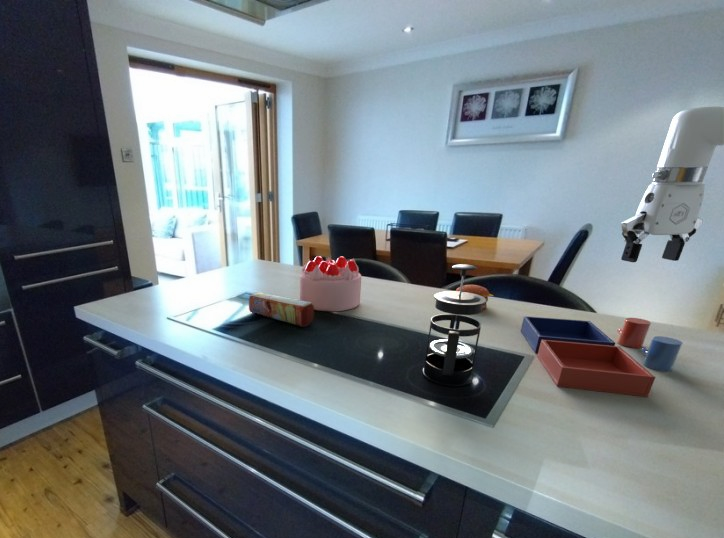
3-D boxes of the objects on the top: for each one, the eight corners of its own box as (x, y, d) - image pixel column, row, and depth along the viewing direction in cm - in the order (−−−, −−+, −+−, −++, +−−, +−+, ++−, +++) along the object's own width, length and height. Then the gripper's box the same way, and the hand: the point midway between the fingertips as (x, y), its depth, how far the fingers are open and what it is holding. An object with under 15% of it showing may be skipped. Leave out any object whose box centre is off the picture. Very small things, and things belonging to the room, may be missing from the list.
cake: (370, 300, 129) (374, 257, 123) (337, 316, 115) (339, 269, 110) (322, 291, 141) (322, 251, 135) (287, 304, 127) (286, 261, 122)
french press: (425, 361, 86) (439, 258, 77) (471, 369, 83) (492, 261, 74) (419, 386, 77) (434, 270, 68) (471, 395, 73) (495, 274, 64)
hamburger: (492, 306, 120) (497, 286, 117) (475, 313, 115) (479, 291, 113) (464, 299, 127) (467, 280, 125) (446, 305, 122) (449, 285, 120)
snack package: (247, 314, 119) (245, 293, 117) (261, 308, 124) (261, 288, 121) (301, 330, 106) (301, 306, 103) (315, 323, 110) (316, 300, 108)
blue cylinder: (676, 372, 79) (687, 345, 77) (649, 369, 80) (659, 343, 78) (653, 355, 86) (663, 330, 84) (629, 353, 88) (638, 328, 86)
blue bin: (585, 336, 97) (589, 320, 96) (609, 360, 85) (615, 343, 83) (520, 330, 101) (523, 316, 100) (534, 352, 89) (539, 336, 88)
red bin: (613, 363, 83) (619, 346, 82) (647, 397, 71) (655, 377, 69) (537, 356, 88) (541, 339, 86) (556, 386, 75) (562, 367, 74)
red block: (646, 349, 89) (655, 324, 87) (622, 347, 91) (631, 323, 88) (628, 335, 97) (636, 312, 95) (606, 333, 98) (614, 311, 96)
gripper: (656, 178, 76) (627, 265, 82) (738, 176, 77) (703, 262, 83) (621, 178, 83) (597, 258, 89) (697, 176, 84) (668, 255, 90)
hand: (649, 260), depth 86 cm, fingers open, 9 cm apart
